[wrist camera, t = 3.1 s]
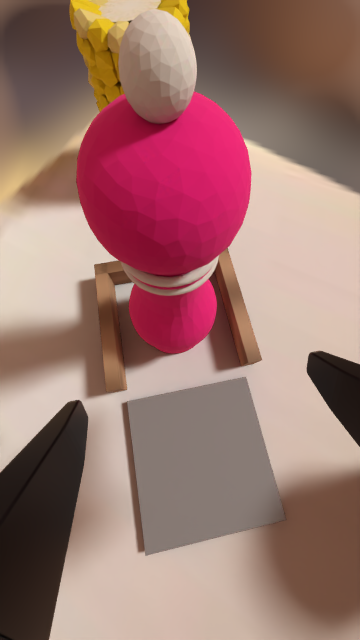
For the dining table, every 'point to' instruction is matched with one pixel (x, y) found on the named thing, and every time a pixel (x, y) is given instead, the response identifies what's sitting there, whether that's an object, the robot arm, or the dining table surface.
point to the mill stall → (110, 328)
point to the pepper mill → (164, 183)
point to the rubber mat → (201, 465)
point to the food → (112, 37)
